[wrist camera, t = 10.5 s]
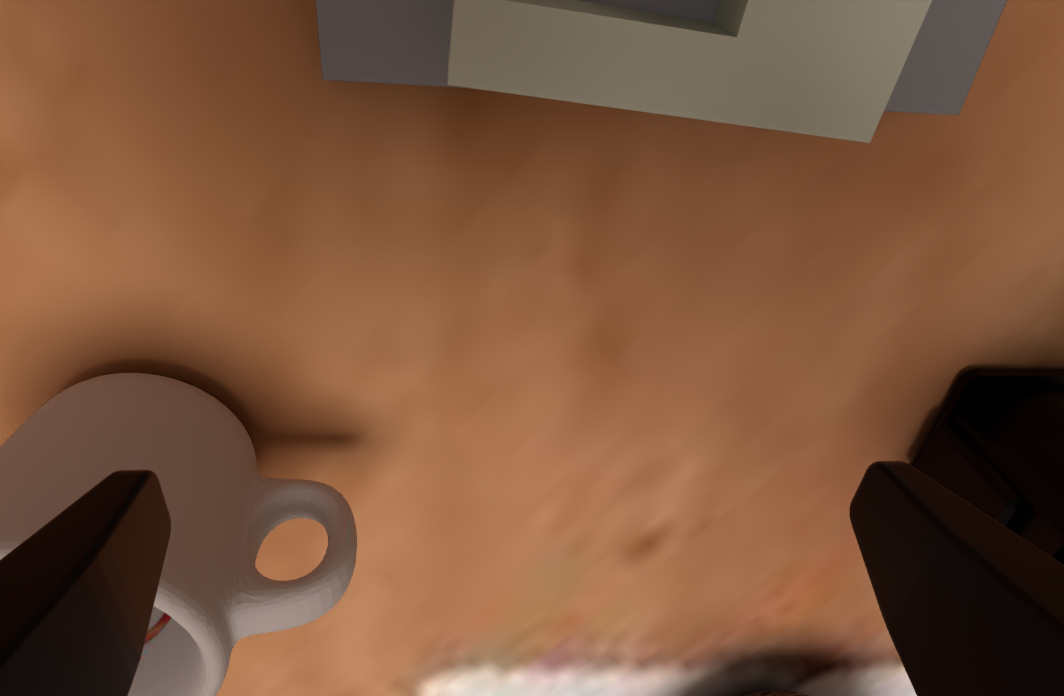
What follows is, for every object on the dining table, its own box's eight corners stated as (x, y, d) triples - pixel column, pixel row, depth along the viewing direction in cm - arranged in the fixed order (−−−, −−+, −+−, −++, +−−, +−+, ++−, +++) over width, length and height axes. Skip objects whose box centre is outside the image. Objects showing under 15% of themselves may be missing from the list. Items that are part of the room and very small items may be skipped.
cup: (369, 346, 22) (335, 556, 15) (373, 520, 26) (347, 740, 20) (-14, 331, 20) (-233, 557, 14) (60, 519, 25) (-79, 757, 18)
